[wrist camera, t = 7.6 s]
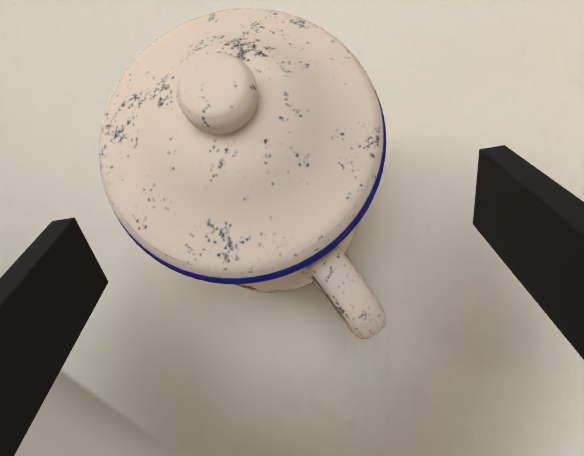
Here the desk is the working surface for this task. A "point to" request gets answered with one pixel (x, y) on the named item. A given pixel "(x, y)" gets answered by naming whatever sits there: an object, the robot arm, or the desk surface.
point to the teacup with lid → (249, 156)
